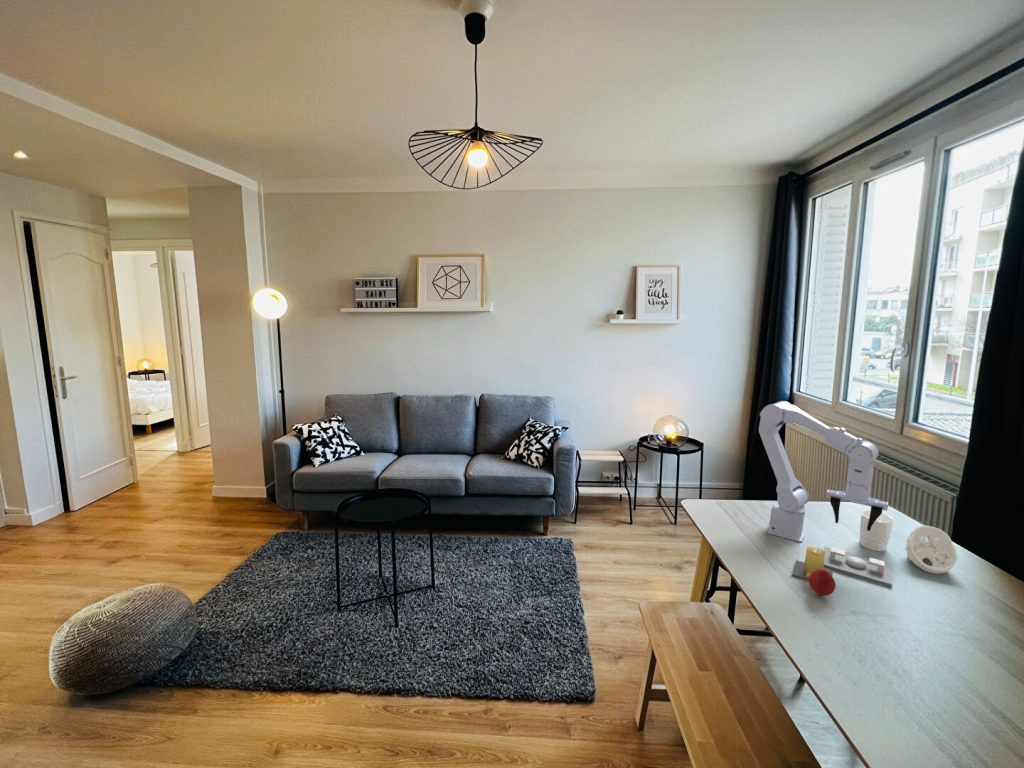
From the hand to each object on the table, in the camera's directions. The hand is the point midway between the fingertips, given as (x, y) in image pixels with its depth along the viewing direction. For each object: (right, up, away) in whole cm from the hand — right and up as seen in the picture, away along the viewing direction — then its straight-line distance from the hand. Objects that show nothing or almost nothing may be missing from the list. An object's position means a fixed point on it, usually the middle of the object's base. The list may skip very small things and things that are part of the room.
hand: (852, 525), depth 138 cm
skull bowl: (+20, -11, -2) cm, 23 cm away
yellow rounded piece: (-17, -11, -8) cm, 21 cm away
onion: (-21, -13, -17) cm, 30 cm away
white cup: (+12, -9, +8) cm, 17 cm away
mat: (-17, -11, -8) cm, 22 cm away
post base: (-2, -11, -4) cm, 12 cm away
